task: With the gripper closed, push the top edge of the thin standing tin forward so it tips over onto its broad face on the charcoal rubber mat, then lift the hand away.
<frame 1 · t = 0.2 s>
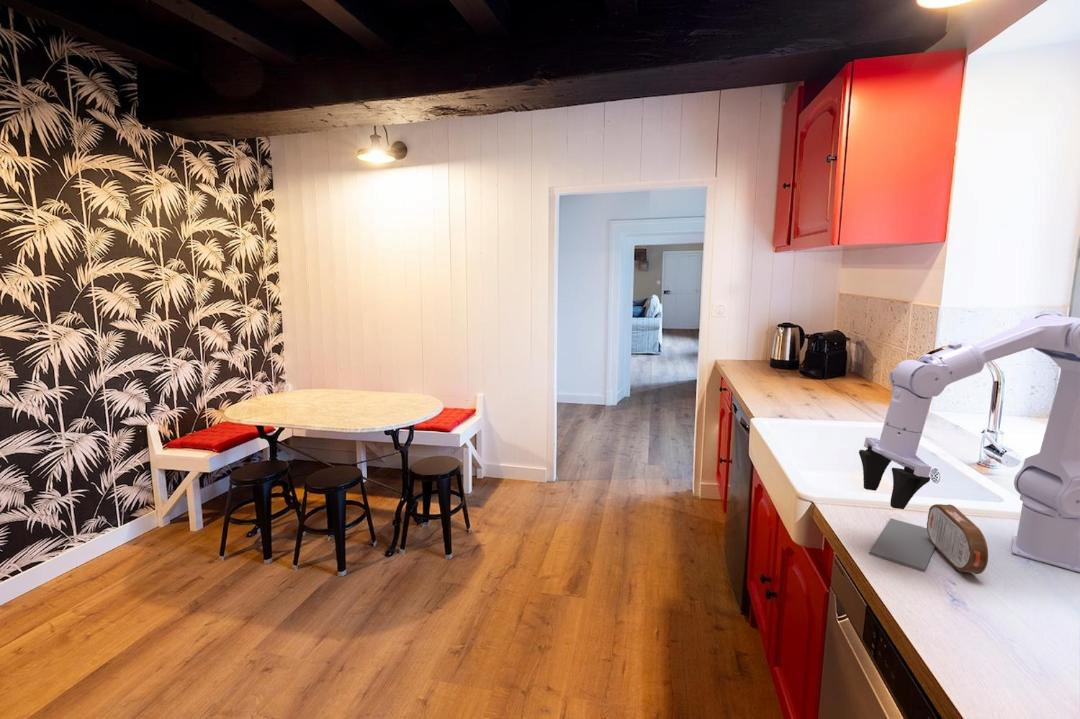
hand: (882, 498, 97), 11 cm above the worktop, tool pointing down, fingers open, 7 cm apart
tin: (949, 558, 96), on the worktop, touching mat
mat: (905, 543, 102), on the worktop
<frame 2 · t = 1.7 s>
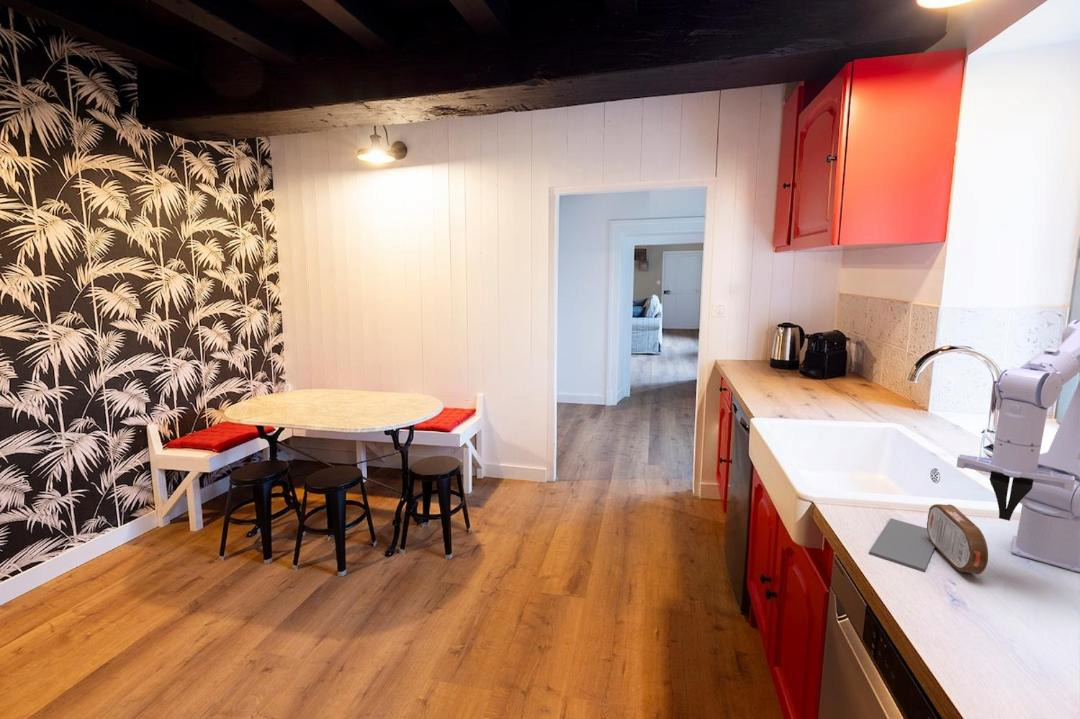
hand: (1004, 517, 90), 10 cm above the worktop, tool pointing down, fingers closed
nothing on the worktop moved.
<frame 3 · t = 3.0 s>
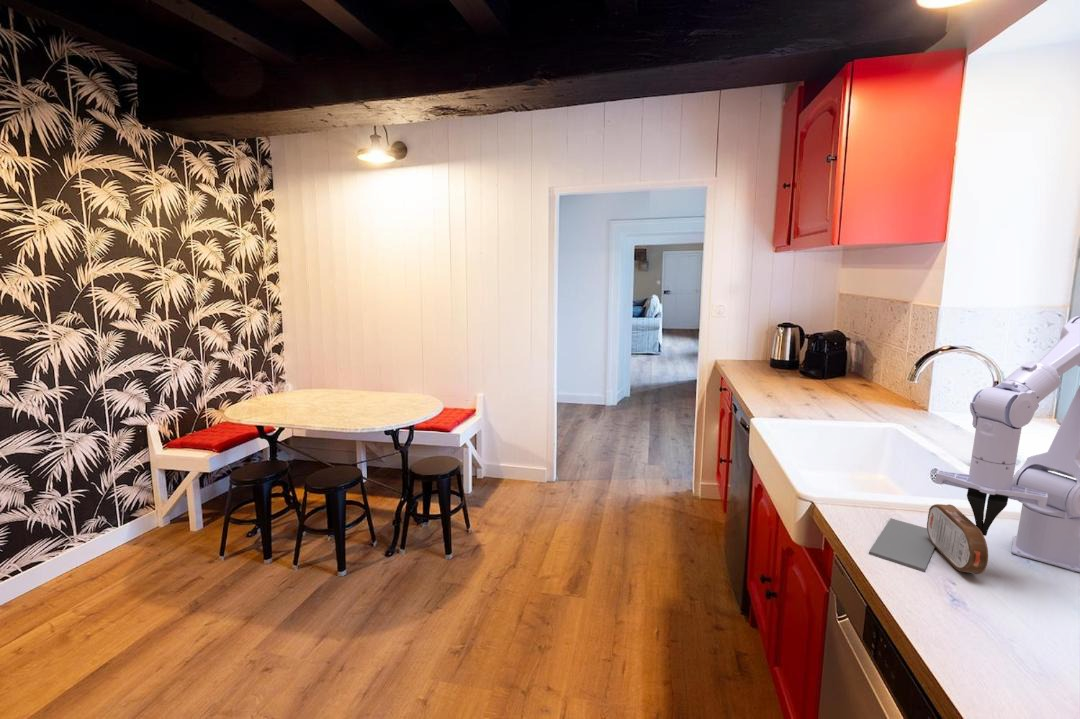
hand: (981, 532, 92), 7 cm above the worktop, tool pointing down, fingers closed
tin: (949, 558, 96), on the worktop, touching gripper, mat
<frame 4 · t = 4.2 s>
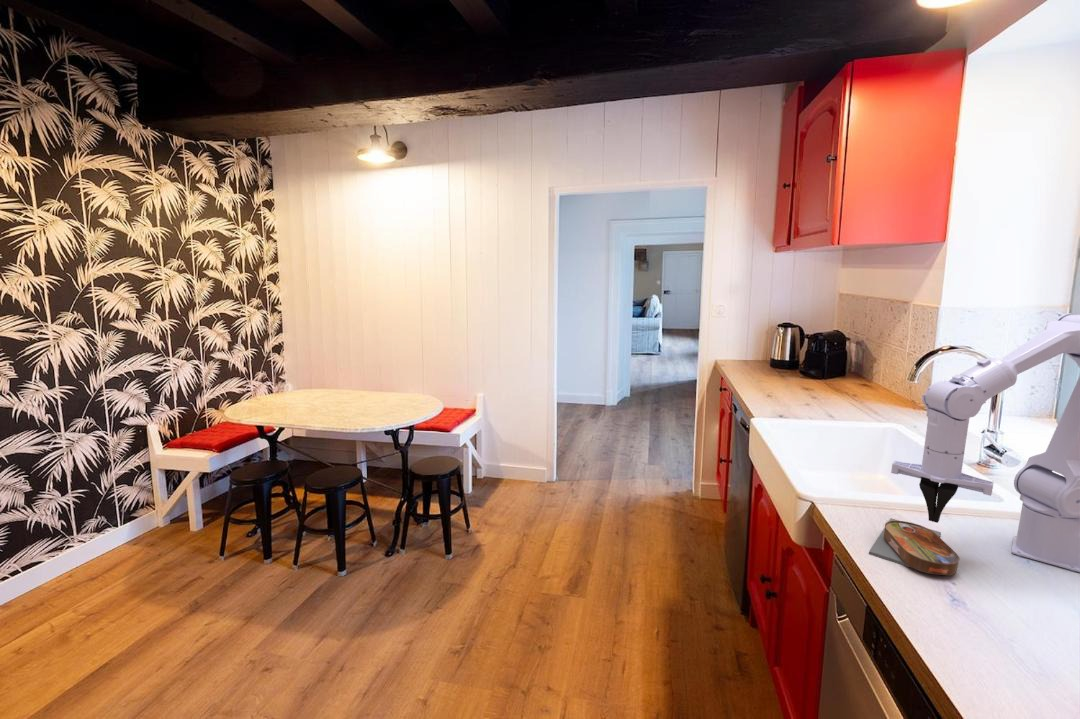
hand: (933, 519, 97), 7 cm above the worktop, tool pointing down, fingers closed
tin: (945, 551, 96), point 1 cm above the worktop, touching mat
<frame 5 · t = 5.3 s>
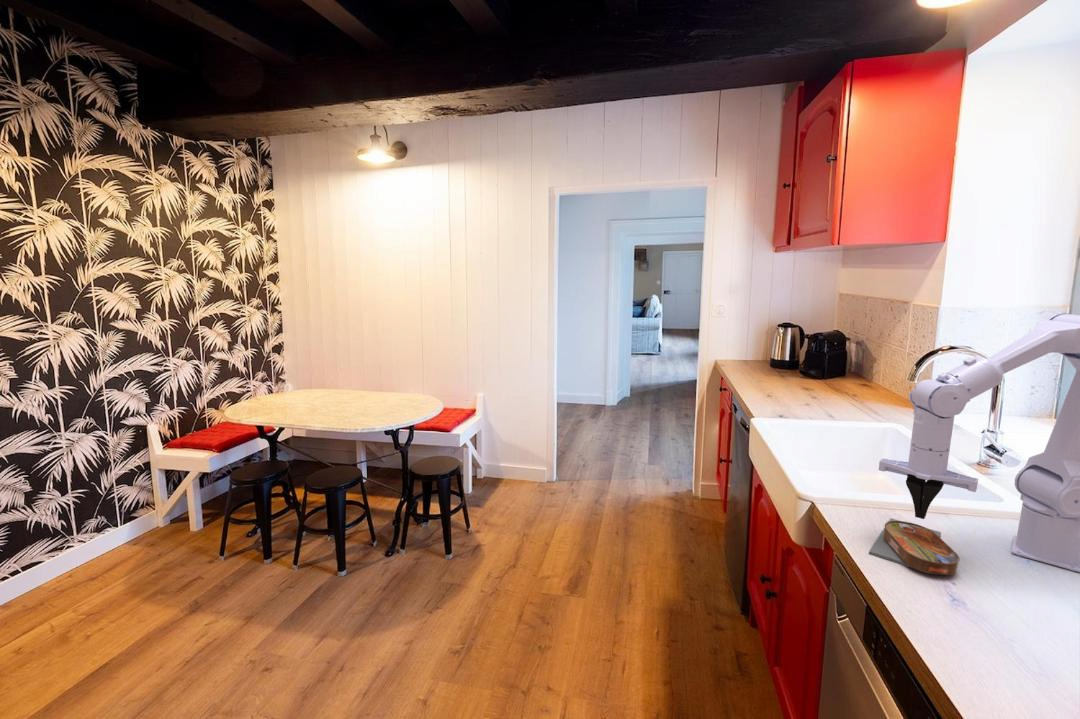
hand: (920, 516, 99), 7 cm above the worktop, tool pointing down, fingers closed
nothing on the worktop moved.
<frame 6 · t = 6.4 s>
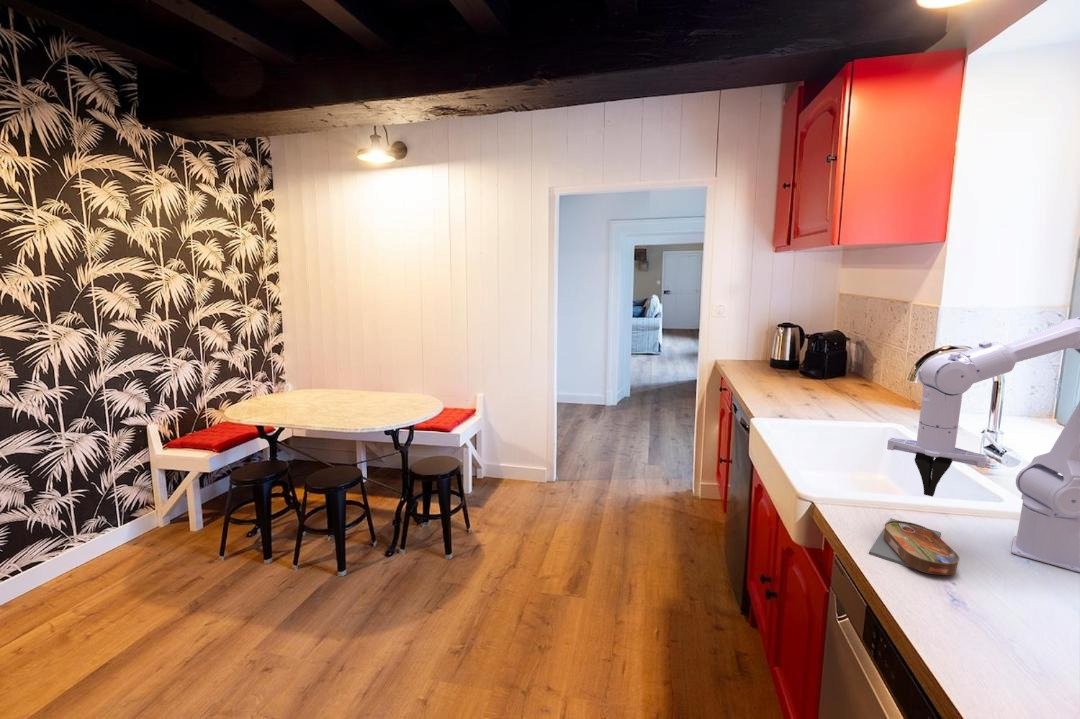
hand: (929, 494, 99), 10 cm above the worktop, tool pointing down, fingers closed
nothing on the worktop moved.
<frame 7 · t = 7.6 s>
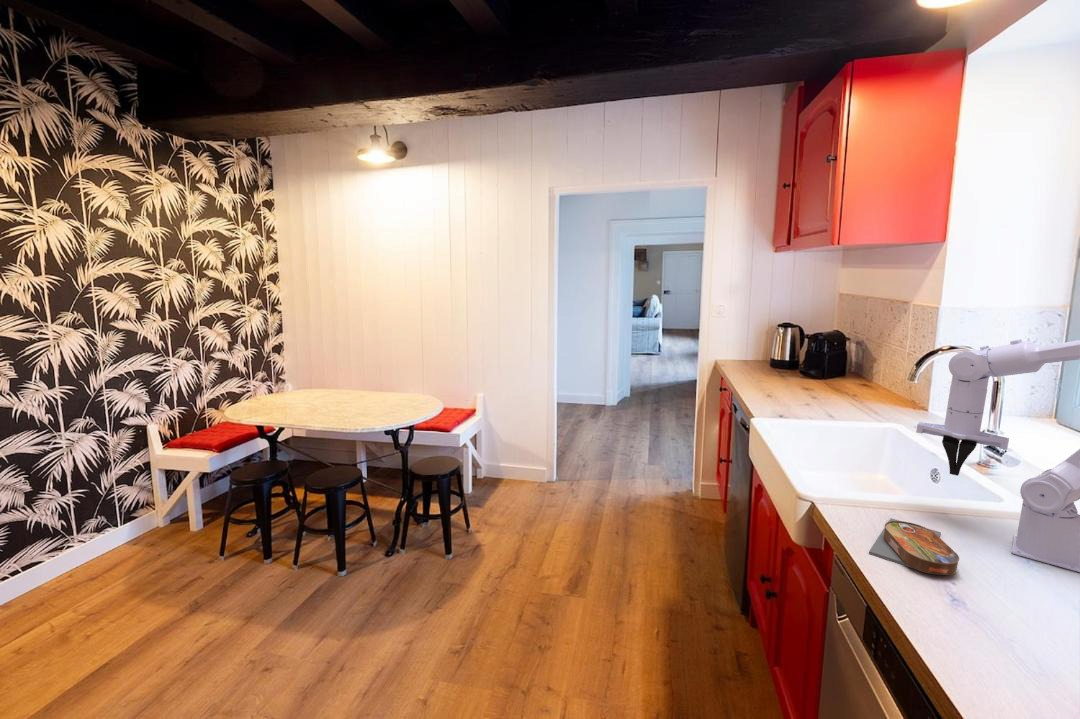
hand: (954, 473, 109), 10 cm above the worktop, tool pointing down, fingers closed
nothing on the worktop moved.
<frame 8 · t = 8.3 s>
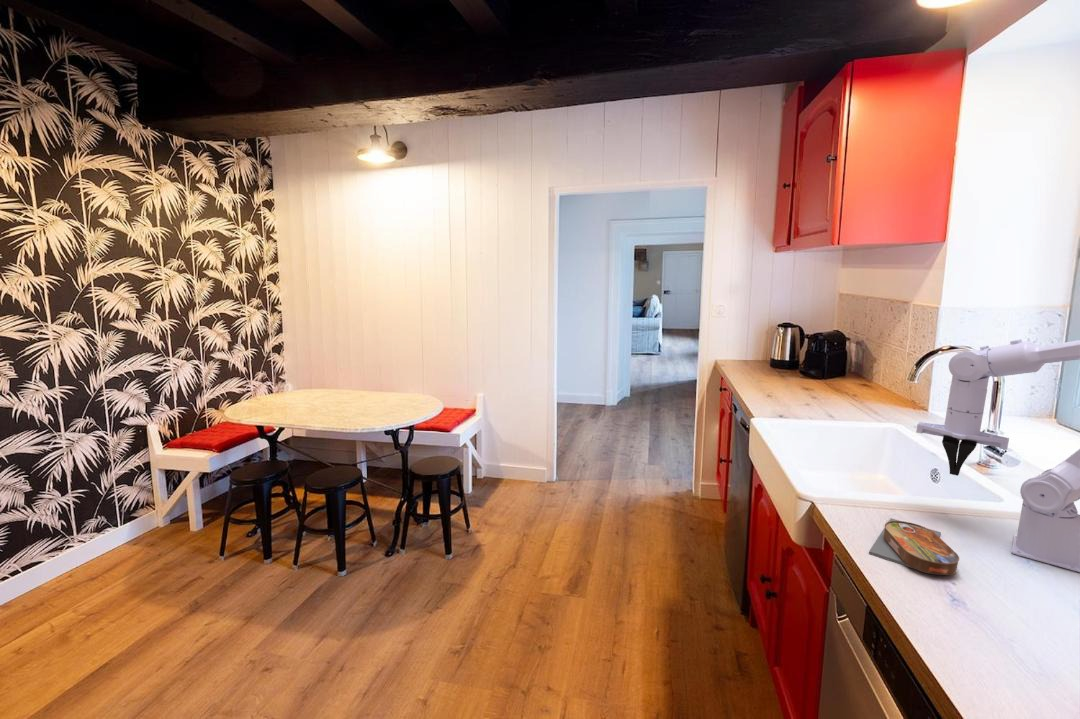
hand: (954, 473, 109), 10 cm above the worktop, tool pointing down, fingers closed
nothing on the worktop moved.
at the end: tin tilted 86°; tin touching mat; tin inside the target area (3.8 cm from its centre), point 1.5 cm above the worktop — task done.
